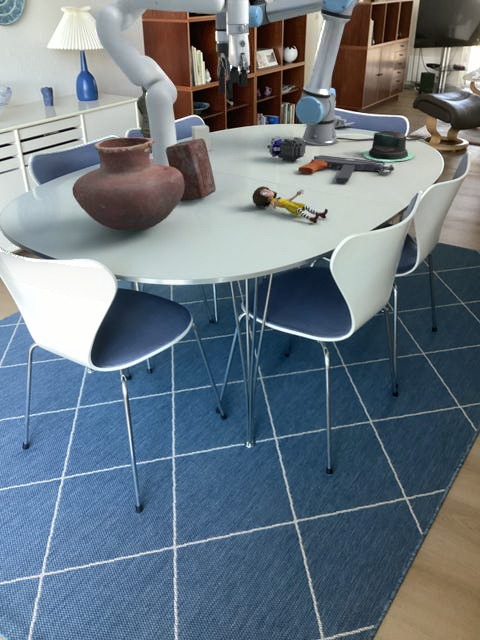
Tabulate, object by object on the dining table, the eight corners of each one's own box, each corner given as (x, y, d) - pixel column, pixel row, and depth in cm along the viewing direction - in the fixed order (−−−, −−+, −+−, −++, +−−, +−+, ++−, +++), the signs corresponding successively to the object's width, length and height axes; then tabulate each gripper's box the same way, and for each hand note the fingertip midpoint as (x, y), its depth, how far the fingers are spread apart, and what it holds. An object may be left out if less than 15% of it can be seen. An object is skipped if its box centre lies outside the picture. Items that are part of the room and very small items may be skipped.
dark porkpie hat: (354, 155, 225) (369, 146, 240) (391, 182, 222) (404, 171, 237) (375, 123, 215) (389, 115, 230) (414, 151, 213) (426, 141, 228)
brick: (210, 150, 242) (209, 127, 237) (195, 152, 240) (194, 128, 235) (207, 147, 246) (205, 124, 241) (192, 149, 245) (191, 126, 240)
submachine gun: (291, 170, 202) (317, 154, 221) (291, 177, 204) (317, 161, 222) (376, 180, 189) (396, 162, 207) (375, 188, 190) (395, 170, 209)
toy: (275, 134, 227) (308, 138, 220) (275, 155, 231) (307, 159, 224) (264, 138, 221) (297, 142, 214) (264, 160, 225) (297, 164, 218)
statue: (170, 147, 247) (164, 74, 232) (162, 152, 239) (156, 77, 224) (146, 146, 250) (139, 74, 234) (138, 151, 242) (130, 77, 226)
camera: (330, 99, 279) (356, 102, 271) (329, 123, 285) (354, 127, 277) (320, 101, 274) (346, 105, 265) (319, 126, 280) (344, 130, 271)
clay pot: (119, 206, 179) (108, 126, 166) (203, 217, 169) (199, 132, 156) (58, 240, 155) (40, 149, 142) (152, 255, 144) (142, 159, 132)
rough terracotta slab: (94, 159, 190) (189, 144, 170) (112, 152, 198) (205, 137, 178) (110, 208, 198) (203, 199, 177) (127, 200, 205) (218, 190, 185)
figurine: (311, 212, 157) (243, 186, 169) (307, 236, 161) (241, 209, 173) (335, 200, 165) (269, 176, 178) (331, 223, 170) (266, 198, 182)
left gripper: (256, 30, 182) (256, 87, 190) (240, 28, 196) (241, 80, 205) (234, 31, 180) (235, 88, 188) (220, 29, 194) (221, 82, 203)
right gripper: (241, 44, 224) (241, 100, 235) (226, 39, 245) (226, 91, 256) (223, 45, 223) (224, 101, 234) (209, 40, 243) (211, 92, 254)
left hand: (238, 84), depth 196 cm, fingers open, 9 cm apart
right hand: (225, 96), depth 245 cm, fingers open, 13 cm apart
